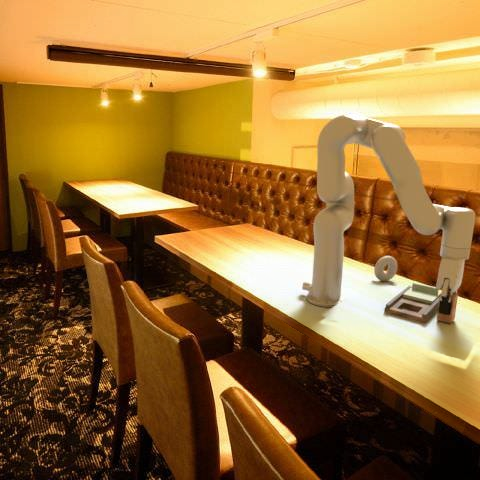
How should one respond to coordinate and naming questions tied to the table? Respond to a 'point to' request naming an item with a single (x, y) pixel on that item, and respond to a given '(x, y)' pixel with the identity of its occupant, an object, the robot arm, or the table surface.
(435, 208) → the robot arm
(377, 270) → the donut
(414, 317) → the puzzle board
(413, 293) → the lid
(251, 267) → the table surface
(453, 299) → the block
